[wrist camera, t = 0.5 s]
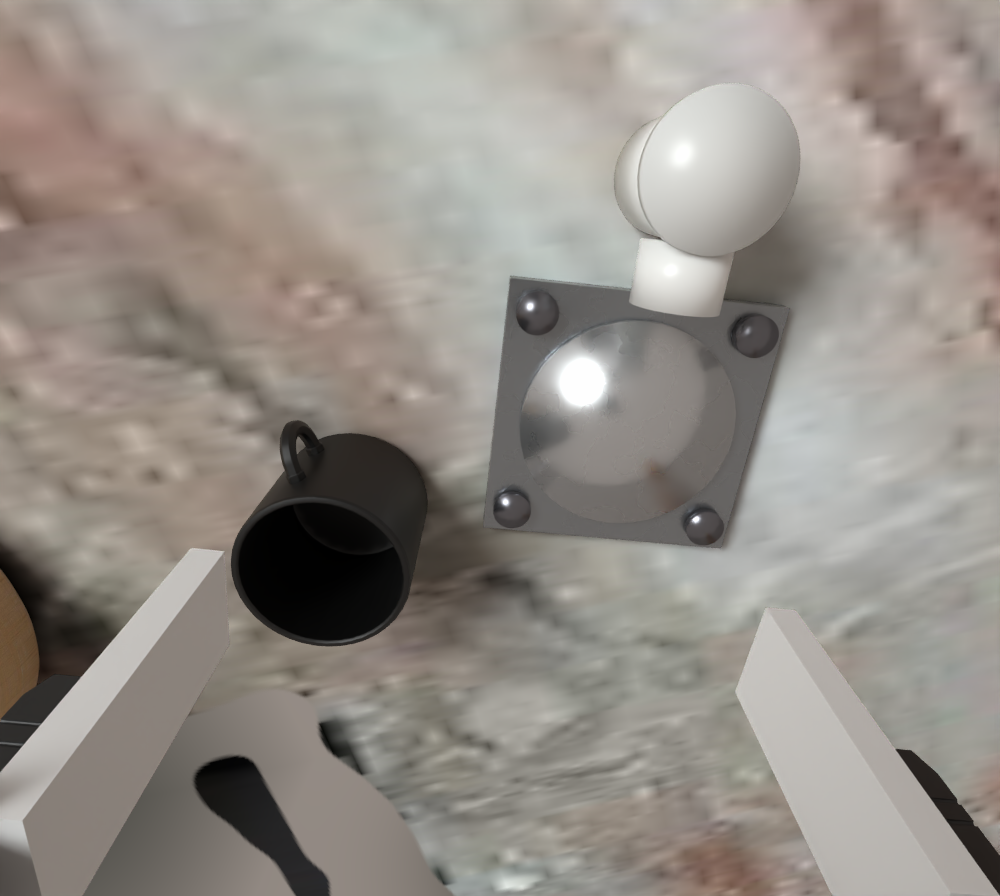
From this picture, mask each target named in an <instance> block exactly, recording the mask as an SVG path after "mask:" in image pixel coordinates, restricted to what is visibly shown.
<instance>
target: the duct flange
mask: <svg viewBox="0 0 1000 896" xmlns="http://www.w3.org/2000/svg"><path fill="white" fill-rule="evenodd" d="M630 292H631V289H627V288H618V287H609V286H599V285H590V284H581V283H572V282H563V281H554V280H544V279H535V278H526V277H517V276H510V282H509V291H508V300H507V310H506V319H505V328H504V337H503V346H502V355H501V364H500V374H499V383H498V392H497V401H496V410H495V419H494V429H493V438H492V447H491V456H490V465H489V474H488V483H487V493H486V502H485V511H484V521H483V527H487V528H498V529H509V530H521V531H532V532H543V533H554V534H565V535H577V536H588V537H599V538H610V539H621V540H633V541H644V542H655V543H666V544H677V545H689V546H700V547H711V548H721V547H722V543H723V540H724V536H725V533H726V529H727V526H728V522H729V519H730V515H731V512H732V508H733V505H734V501H735V498H736V494H737V491H738V487H739V484H740V480H741V477H742V473H743V470H744V466H745V463H746V460H747V456H748V453H749V449H750V446H751V442H752V439H753V435H754V432H755V428H756V425H757V421H758V418H759V414H760V411H761V407H762V404H763V400H764V397H765V393H766V390H767V386H768V383H769V379H770V376H771V372H772V369H773V365H774V362H775V358H776V355H777V351H778V348H779V344H780V341H781V337H782V334H783V330H784V327H785V324H786V320H787V317H788V313H789V310H790V308H788V307H785V306H782V305H774V304H765V303H756V302H746V301H737V300H728V299H723V303H722V307H721V311H720V315H719V316H716V317H692V316H683V315H675V314H669V313H663V312H658V311H653V310H648V309H644V308H641V307H638V306H635V305H633V304H631V303H629V298H630Z"/></svg>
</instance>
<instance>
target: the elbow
mask: <svg viewBox="0 0 1000 896" xmlns="http://www.w3.org/2000/svg"><path fill="white" fill-rule="evenodd" d="M799 170H800V146H799V140H798V136H797V132H796V129H795V126H794V124H793V122H792V120H791V118H790V116H789V115H788V113H787V111H786V110H785V109H784V107H783V106H782V105H781V104H780V103H779V102H778V101H777V100H776V99H775V98H773V97H772V96H771V95H770V94H768V93H766V92H765V91H763V90H761V89H759V88H756V87H753V86H750V85H745V84H741V83H725V84H717V85H713V86H709V87H706V88H704V89H702V90H699V91H697V92H695V93H693V94H691V95H689V96H687V97H686V98H684V99H682V100H681V101H679V102H678V103H677V104H675V105H674V106H673V107H671V108H670V109H669V110H668V111H667V112H666V113H665V114H664V115H663V116H661V117H659V118H657V119H655V120H652V121H650V122H649V123H647V124H645V125H644V126H642V127H641V128H640V129H638V130H637V131H636V132H635V133H634V134H633V135H632V136H631V138H630V139H629V140H628V141H627V143H626V144H625V146H624V148H623V149H622V151H621V153H620V156H619V158H618V161H617V164H616V169H615V175H614V190H615V196H616V200H617V203H618V205H619V208H620V210H621V211H622V213H623V215H624V216H625V218H626V219H627V220H628V221H629V222H630V223H631V224H632V225H633V226H634V227H636V228H637V229H639V230H641V231H642V232H644V233H647V234H650V235H653V236H657V237H660V238H661V239H652V238H640V244H639V249H638V254H637V260H636V265H635V271H634V276H633V281H632V287H631V292H630V298H629V303H631V304H633V305H635V306H638V307H641V308H644V309H648V310H653V311H658V312H663V313H669V314H675V315H683V316H692V317H716V316H719V315H720V311H721V307H722V303H723V299H724V294H725V290H726V286H727V282H728V278H729V274H730V270H731V266H732V262H733V258H734V253H735V251H738V250H741V249H743V248H745V247H747V246H749V245H751V244H752V243H754V242H755V241H757V240H758V239H760V238H761V237H762V236H763V235H764V234H766V233H767V232H768V231H769V230H770V229H771V228H772V227H773V226H774V225H775V224H776V222H777V221H778V220H779V218H780V217H781V216H782V214H783V213H784V211H785V209H786V208H787V206H788V204H789V202H790V200H791V198H792V196H793V193H794V190H795V187H796V184H797V180H798V176H799Z"/></svg>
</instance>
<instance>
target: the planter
mask: <svg viewBox="0 0 1000 896" xmlns="http://www.w3.org/2000/svg"><path fill="white" fill-rule="evenodd" d="M38 673H39V651H38V645H37V640H36V635H35V632H34V628H33V625H32V622H31V619H30V617H29V614H28V612H27V610H26V608H25V606H24V604H23V602H22V600H21V599H20V597H19V595H18V593H17V592H16V590H15V589H14V587H13V586H12V584H11V582H10V581H9V580H8V578H7V577H6V575H5V574H4V573H3V571H2V570H1V569H0V720H1V718H2V717H3V716H4V715H5V713H6V712H7V711H8V710H9V709H10V708H11V707H12V706H13V705H14V704H15V703H16V702H17V701H18V700H19V698H20V697H21V696H22V695H23V694H25V693H26V692H28V691H29V690H31V689H32V688H34V687H36V684H37V680H38Z"/></svg>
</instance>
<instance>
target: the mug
mask: <svg viewBox="0 0 1000 896" xmlns="http://www.w3.org/2000/svg"><path fill="white" fill-rule="evenodd" d="M298 436H299V437H300V438H301V440H302V441H303V442H304V444H305V446H306V447H305V448H304V449H303V450H301V451H300V452H299V453H298V454H297V453H296V439H297V437H298ZM280 454H281V459H282V463H283V467H284V469H285V471H284V472H283V473H282V475H281V476H280V477H279V479H278V480H277V481H276V483H275V484H274V485H273V487H272V488H271V489H270V491H269V492H268V493H267V495H266V496H265V497H264V499H263V500H262V501H261V502H260V504H259V505H258V506H257V508H256V509H255V510H254V512H253V513H252V514H251V516H250V517H249V518H248V520H247V521H246V522H245V524H244V525H243V526H242V528H241V530H240V532H239V533H238V535H237V537H236V540H235V542H234V546H233V549H232V556H231V570H232V577H233V581H234V584H235V587H236V589H237V592H238V594H239V596H240V598H241V599H242V601H243V602H244V604H245V605H246V607H247V608H248V609H249V610H250V612H251V613H252V614H253V615H254V616H255V617H256V618H257V619H258V620H260V621H261V622H262V623H263V624H264V625H266V626H267V627H269V628H270V629H272V630H273V631H275V632H277V633H278V634H281V635H283V636H285V637H287V638H289V639H292V640H295V641H298V642H301V643H306V644H311V645H317V646H343V645H349V644H354V643H357V642H360V641H364V640H366V639H368V638H370V637H373V636H375V635H377V634H378V633H380V632H381V631H382V630H384V629H385V628H386V627H388V626H389V625H390V624H391V623H392V622H393V621H394V620H395V619H396V618H397V616H398V615H399V613H400V612H401V611H402V609H403V607H404V605H405V603H406V601H407V599H408V595H409V591H410V587H411V582H412V578H413V573H414V568H415V564H416V559H417V554H418V550H419V545H420V541H421V536H422V531H423V527H424V522H425V517H426V512H427V494H426V489H425V486H424V482H423V480H422V478H421V476H420V474H419V472H418V470H417V469H416V467H415V466H414V465H413V463H412V462H411V461H410V460H409V459H408V458H407V457H406V456H405V455H404V454H403V453H402V452H400V451H399V450H398V449H397V448H395V447H394V446H392V445H390V444H388V443H387V442H385V441H382V440H380V439H377V438H375V437H371V436H367V435H362V434H352V433H348V434H336V435H331V436H327V437H324V438H321V439H319V440H318V439H317V437H316V435H315V434H314V432H313V431H312V429H311V428H310V427H309V426H308V425H307V424H306V423H304V422H302V421H298V420H297V421H291V422H288V423H287V424H286V425H285V427H284V429H283V431H282V434H281V437H280Z"/></svg>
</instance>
